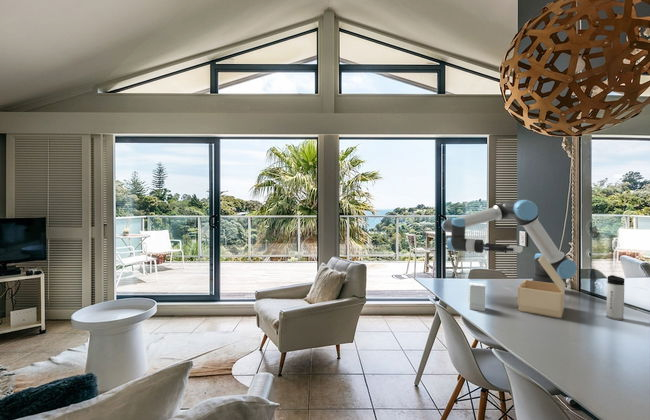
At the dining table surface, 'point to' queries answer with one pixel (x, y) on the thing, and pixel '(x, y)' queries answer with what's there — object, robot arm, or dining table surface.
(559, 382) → the dining table surface
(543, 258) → the carton flap
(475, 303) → the supplement box
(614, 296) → the travel mug
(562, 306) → the carton
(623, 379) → the dining table surface
